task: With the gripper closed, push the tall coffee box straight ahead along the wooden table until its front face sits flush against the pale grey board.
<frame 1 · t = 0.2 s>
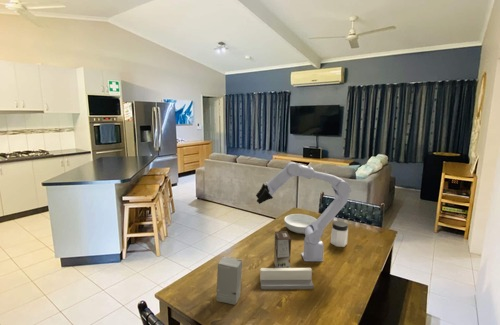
hand: (257, 199, 131), 31 cm above the table, tool tilted 45°, fingers open, 7 cm apart
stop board: (285, 281, 117), on the table
jar: (338, 243, 153), on the table
serving bowl: (300, 230, 170), on the table
coffee box: (281, 266, 129), on the table
skincare box: (229, 298, 106), on the table
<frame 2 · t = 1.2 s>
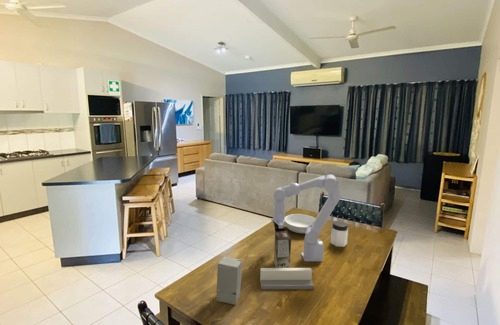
hand: (278, 235, 140), 10 cm above the table, tool pointing down, fingers open, 7 cm apart
nothing on the table moved.
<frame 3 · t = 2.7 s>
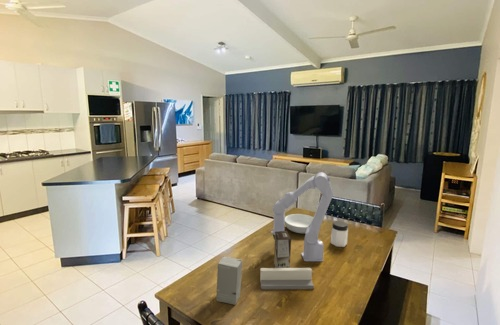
hand: (278, 248, 141), 2 cm above the table, tool pointing down, fingers closed
nothing on the table moved.
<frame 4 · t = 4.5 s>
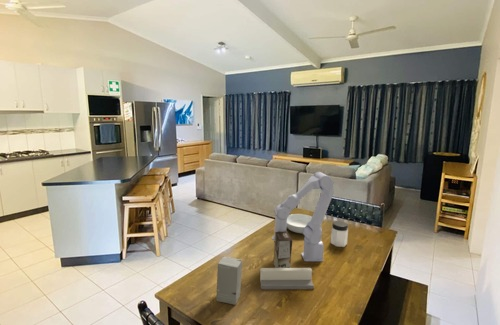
hand: (279, 255, 134), 3 cm above the table, tool pointing down, fingers closed, pressing on coffee box
coffee box: (281, 266, 128), on the table, touching arm, gripper
everything else where it was.
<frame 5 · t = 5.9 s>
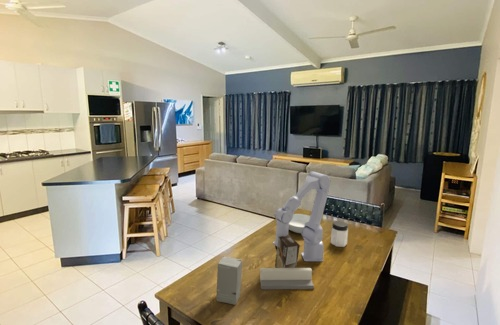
hand: (280, 260, 128), 3 cm above the table, tool pointing down, fingers closed, pressing on coffee box
coffee box: (284, 272, 123), on the table, touching arm, gripper, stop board
everything else where it was.
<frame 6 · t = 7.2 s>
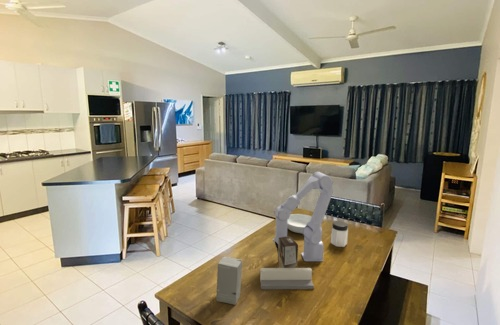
hand: (280, 256, 133), 2 cm above the table, tool pointing down, fingers closed
coffee box: (286, 274, 123), on the table
everything else where it was.
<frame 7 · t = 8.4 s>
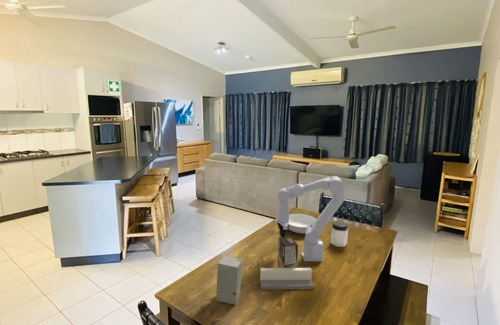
hand: (282, 236, 139), 9 cm above the table, tool pointing down, fingers closed
nothing on the table moved.
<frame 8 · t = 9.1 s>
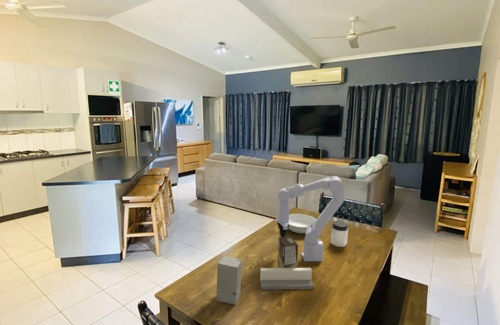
hand: (282, 236, 139), 9 cm above the table, tool pointing down, fingers closed
nothing on the table moved.
at the end: coffee box inside the target area on the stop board (1.5 cm from its centre), point 0.0 cm above the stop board's base; coffee box tilted 0° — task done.
